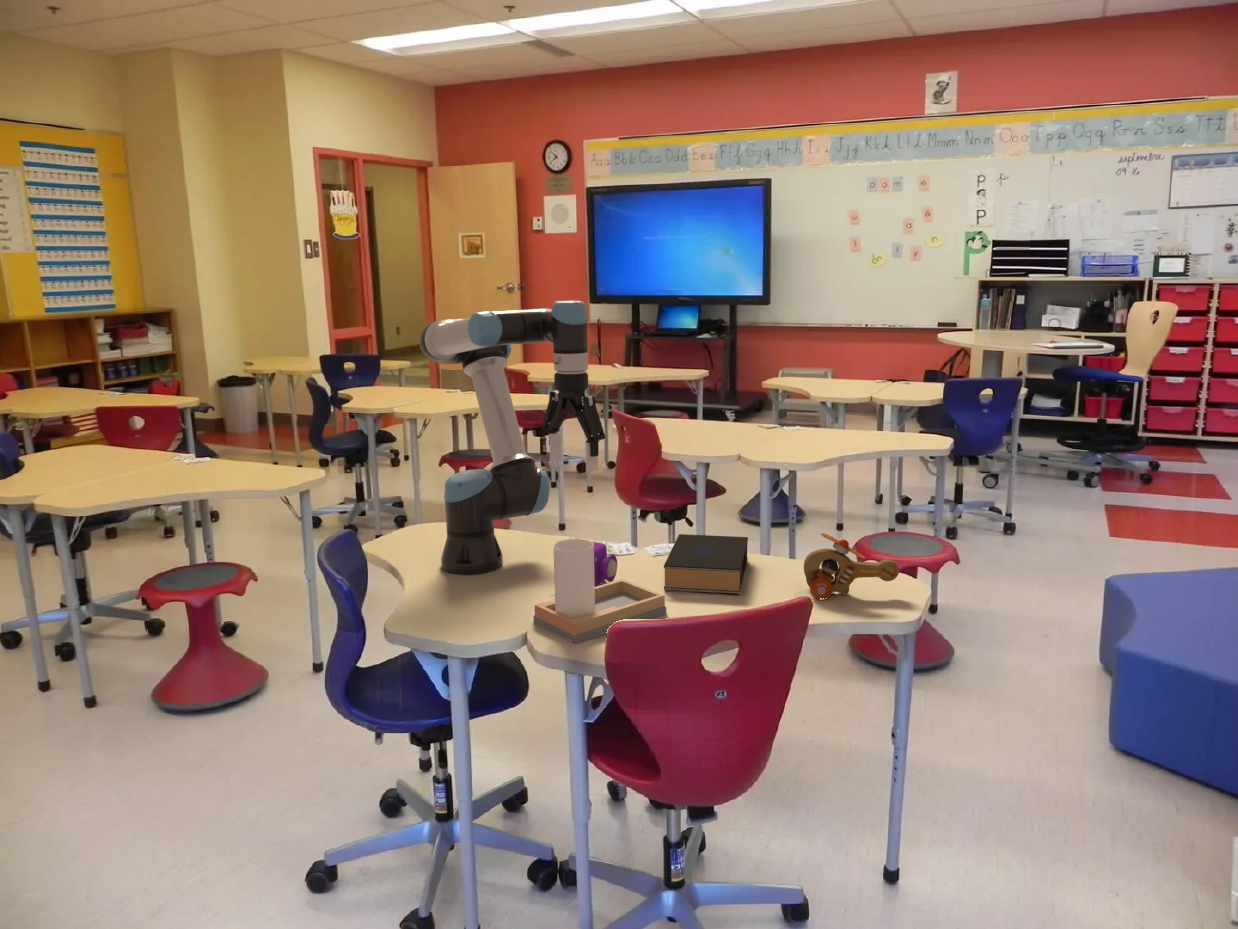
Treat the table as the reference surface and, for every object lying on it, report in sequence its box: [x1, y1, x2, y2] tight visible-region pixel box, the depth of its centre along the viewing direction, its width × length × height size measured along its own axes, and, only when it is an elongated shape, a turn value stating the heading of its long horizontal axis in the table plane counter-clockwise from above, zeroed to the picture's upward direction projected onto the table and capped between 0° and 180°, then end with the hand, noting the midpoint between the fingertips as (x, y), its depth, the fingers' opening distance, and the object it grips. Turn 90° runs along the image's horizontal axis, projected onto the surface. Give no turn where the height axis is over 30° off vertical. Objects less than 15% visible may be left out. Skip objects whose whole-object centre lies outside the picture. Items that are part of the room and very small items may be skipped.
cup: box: [553, 538, 595, 619], centre depth 192 cm, size 8×8×16 cm
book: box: [663, 533, 749, 595], centre depth 223 cm, size 17×25×7 cm
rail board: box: [532, 578, 667, 644], centre depth 198 cm, size 15×24×4 cm, turn 130°
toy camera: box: [575, 538, 618, 587], centre depth 217 cm, size 11×14×10 cm
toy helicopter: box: [803, 532, 900, 600], centre depth 208 cm, size 8×21×14 cm, turn 86°
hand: (573, 465), depth 211 cm, fingers open, 13 cm apart
